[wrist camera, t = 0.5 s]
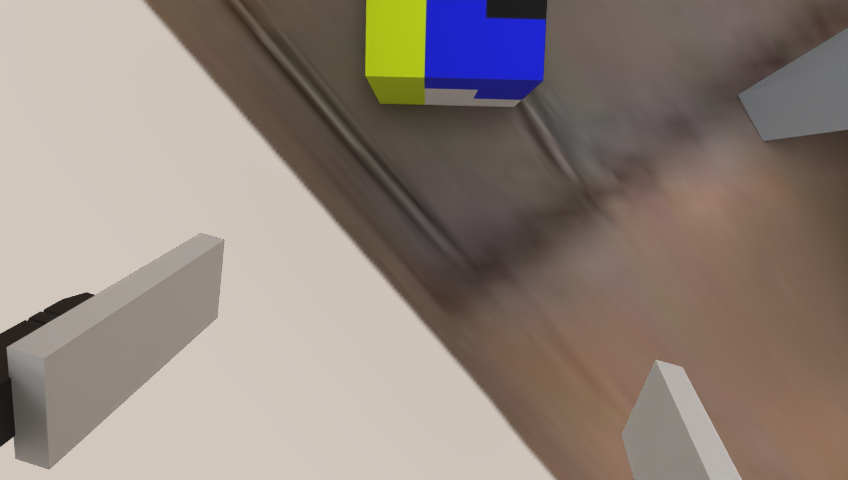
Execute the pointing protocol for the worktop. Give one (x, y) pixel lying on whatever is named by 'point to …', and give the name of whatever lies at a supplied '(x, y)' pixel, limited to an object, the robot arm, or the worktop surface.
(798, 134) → the light blue upright pillar
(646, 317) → the worktop surface
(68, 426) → the robot arm
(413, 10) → the puzzle toy
